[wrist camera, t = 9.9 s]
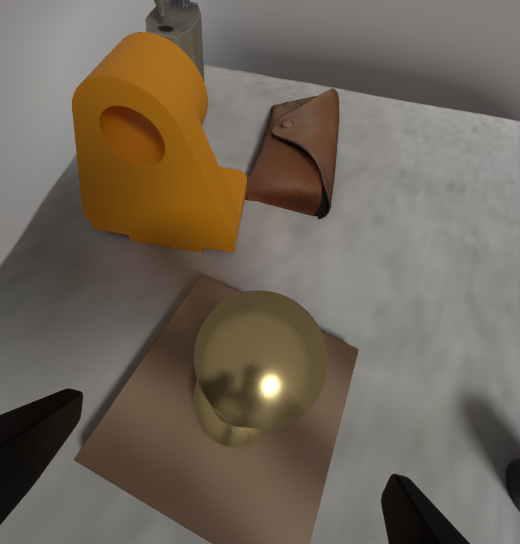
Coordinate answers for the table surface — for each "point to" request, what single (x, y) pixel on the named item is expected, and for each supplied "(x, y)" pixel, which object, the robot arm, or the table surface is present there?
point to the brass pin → (256, 367)
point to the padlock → (179, 27)
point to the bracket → (153, 151)
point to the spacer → (514, 481)
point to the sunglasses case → (298, 156)
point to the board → (211, 455)
